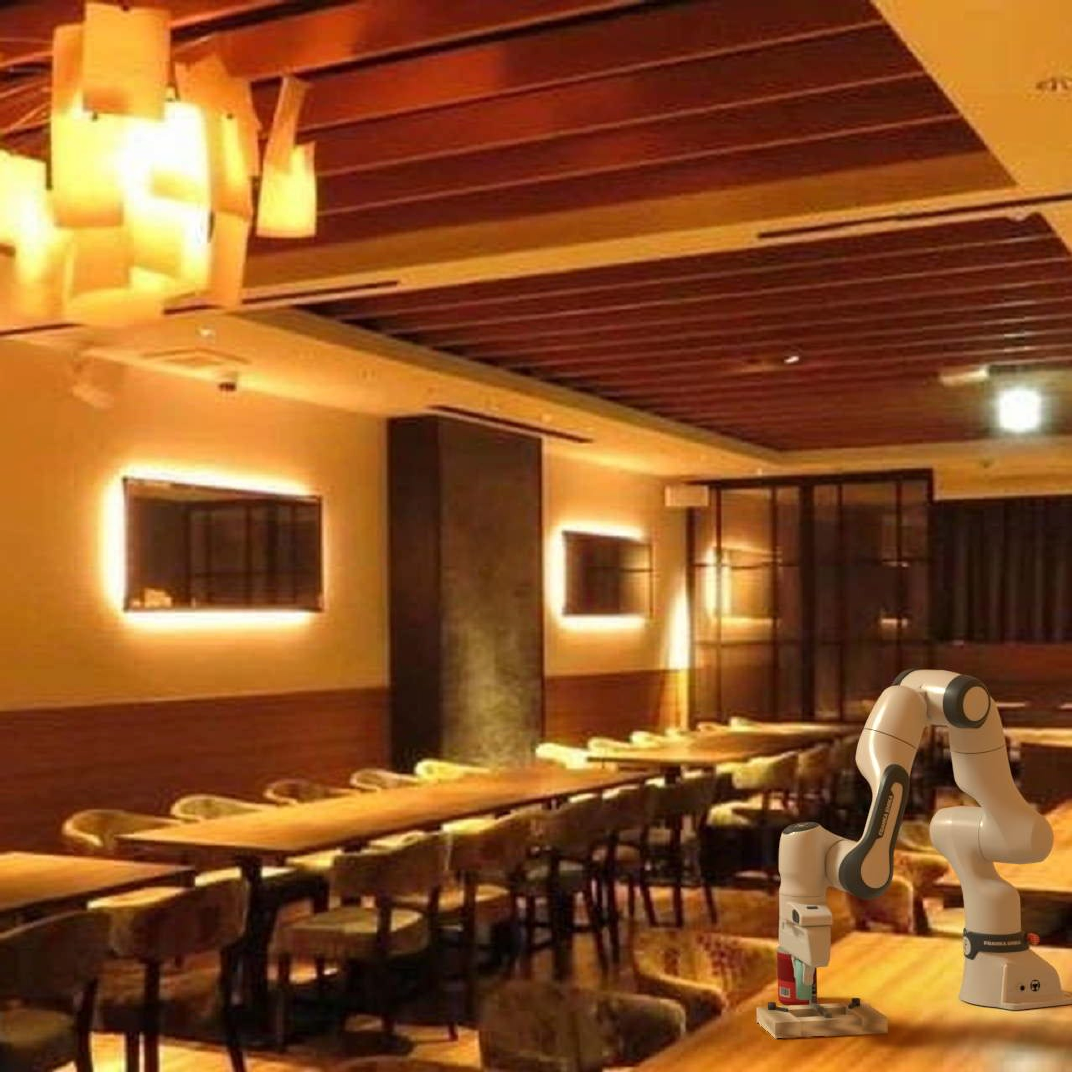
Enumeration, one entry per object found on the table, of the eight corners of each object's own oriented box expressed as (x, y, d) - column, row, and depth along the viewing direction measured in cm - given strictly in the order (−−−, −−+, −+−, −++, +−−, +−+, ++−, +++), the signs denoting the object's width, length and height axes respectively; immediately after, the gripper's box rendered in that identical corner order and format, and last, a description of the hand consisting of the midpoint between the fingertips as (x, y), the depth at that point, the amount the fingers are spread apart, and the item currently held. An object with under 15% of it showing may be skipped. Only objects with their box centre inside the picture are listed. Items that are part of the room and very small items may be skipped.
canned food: (817, 1007, 315) (815, 952, 316) (777, 1005, 317) (775, 951, 317) (817, 998, 322) (816, 944, 323) (778, 997, 324) (777, 943, 325)
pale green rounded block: (793, 996, 300) (793, 959, 300) (808, 996, 300) (808, 959, 301) (798, 1000, 297) (798, 962, 297) (814, 999, 297) (813, 962, 298)
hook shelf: (864, 1017, 307) (864, 990, 307) (887, 1033, 295) (887, 1005, 295) (756, 1022, 303) (756, 995, 304) (775, 1039, 291) (774, 1010, 292)
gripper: (770, 900, 309) (771, 970, 308) (803, 918, 289) (804, 994, 288) (800, 899, 310) (801, 969, 309) (836, 917, 290) (837, 992, 289)
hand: (803, 981), depth 299 cm, fingers closed on pale green rounded block, 3 cm apart
